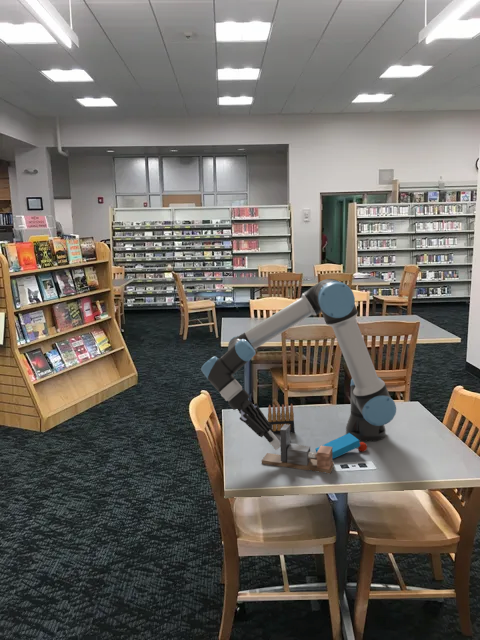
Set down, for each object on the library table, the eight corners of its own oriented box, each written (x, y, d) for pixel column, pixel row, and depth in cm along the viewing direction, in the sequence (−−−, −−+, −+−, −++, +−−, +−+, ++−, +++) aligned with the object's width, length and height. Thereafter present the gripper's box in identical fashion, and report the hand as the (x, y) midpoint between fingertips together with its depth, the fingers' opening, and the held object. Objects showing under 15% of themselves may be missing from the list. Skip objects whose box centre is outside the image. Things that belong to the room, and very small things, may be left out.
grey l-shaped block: (280, 461, 168) (280, 429, 166) (284, 455, 173) (284, 424, 171) (325, 467, 163) (325, 434, 161) (328, 461, 167) (328, 429, 165)
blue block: (328, 473, 172) (372, 452, 176) (323, 456, 170) (367, 435, 174) (320, 465, 178) (362, 445, 182) (315, 448, 176) (357, 428, 180)
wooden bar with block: (261, 463, 171) (261, 445, 169) (267, 456, 176) (266, 438, 175) (330, 473, 162) (330, 454, 161) (333, 465, 167) (333, 446, 166)
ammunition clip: (293, 431, 198) (293, 402, 196) (294, 432, 196) (294, 404, 194) (267, 432, 197) (266, 403, 195) (268, 434, 195) (267, 405, 193)
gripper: (235, 395, 181) (277, 445, 178) (220, 407, 169) (265, 461, 166) (248, 383, 178) (291, 434, 175) (235, 394, 166) (281, 448, 163)
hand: (279, 447), depth 170 cm, fingers closed
